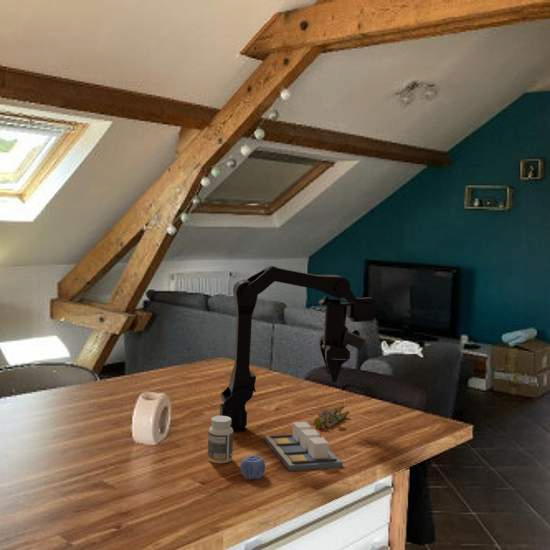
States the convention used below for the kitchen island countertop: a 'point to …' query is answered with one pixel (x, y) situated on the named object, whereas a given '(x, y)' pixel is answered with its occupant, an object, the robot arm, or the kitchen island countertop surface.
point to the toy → (330, 417)
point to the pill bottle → (220, 440)
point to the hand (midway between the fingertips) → (332, 377)
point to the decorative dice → (252, 467)
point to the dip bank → (298, 454)
